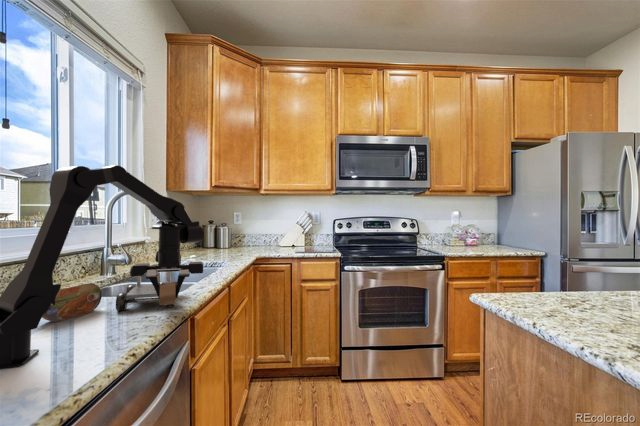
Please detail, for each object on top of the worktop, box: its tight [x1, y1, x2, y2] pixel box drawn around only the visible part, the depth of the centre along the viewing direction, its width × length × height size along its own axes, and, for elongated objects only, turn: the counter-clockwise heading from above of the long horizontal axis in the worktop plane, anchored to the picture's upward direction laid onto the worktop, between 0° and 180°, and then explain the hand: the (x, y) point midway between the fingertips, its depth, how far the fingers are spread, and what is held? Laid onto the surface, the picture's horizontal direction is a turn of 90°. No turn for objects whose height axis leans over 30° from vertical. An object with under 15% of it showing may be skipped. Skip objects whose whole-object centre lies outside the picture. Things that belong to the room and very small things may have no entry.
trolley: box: [115, 272, 176, 312], centre depth 98 cm, size 17×15×11 cm
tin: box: [41, 282, 102, 323], centre depth 84 cm, size 15×3×8 cm, turn 164°
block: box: [158, 280, 178, 306], centre depth 89 cm, size 5×4×6 cm
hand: (168, 298), depth 89 cm, fingers closed on block, 4 cm apart
